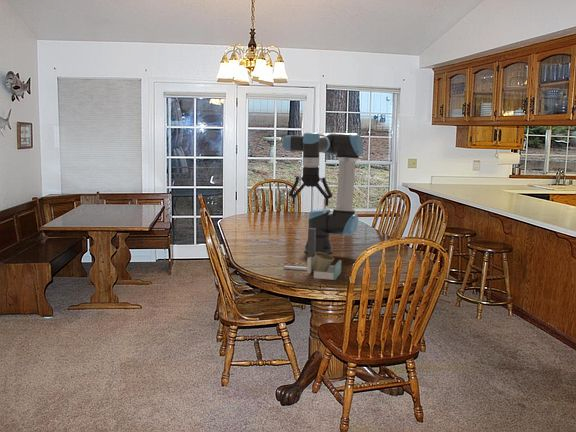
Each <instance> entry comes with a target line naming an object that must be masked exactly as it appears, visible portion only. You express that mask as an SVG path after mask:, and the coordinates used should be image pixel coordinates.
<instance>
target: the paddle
mask: <svg viewBox="0 0 576 432" xmlns="http://www.w3.org/2000/svg"><path fill="white" fill-rule="evenodd" d="M307 239H308V253H307V257H306V258H307V260H306V262H307V263H306V265H307V266H306V267H307V271H306V274H311V273H312V272H313V267H314V261H315V254H314V253H315V248H316V228H309V229H307Z"/></svg>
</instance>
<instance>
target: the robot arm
mask: <svg viewBox="0 0 576 432" xmlns="http://www.w3.org/2000/svg"><path fill="white" fill-rule="evenodd" d="M362 138H363V137H362V136H361V135H360V134H358V133H356V132H355V133H354V132H328V133H321V134H320V133H319V132H304V133H303V135H291V134H290V135H285V136H284V137H283V138H282V148H283V150H284V151H286V152H301V153H302V166H303V167H302V176H299V175H297V176H296V177H295V182H294V183H293V186H292V187H291V189H290V192H289V193H288V197H291V198H292V205H294V212H295V213H296V212H298V203H299V201H298V200H299V199H298V197H297V196H298V195H299V193H300V192H301V191H302V190H303V189H304V188H305V187H308V188H309V187H310V188H313V187H315V188H316V189H317V190H318V191H319V192H320V194H321V195H322V197H324V198H323V205H322V206H323V208H320V209H313V210H310V211H309V212H308V222H307V223H308V229H309V228H316V248H315V252H323V253H326V254H331V253H333V245H332V242H331V237H330V236H331V235H340V236H353V235H354V234H355V232H356V230H357V228H358V225H359V216H358V214H357V213H356V209H354V207H353V203H354V202H353V201H354V189H355V173H356V162H357V161H359V157H361V156H362V155H363V152H364V142H363V139H362ZM320 153H323V154H327V155H333V156H334V155H335V156H336V159H337V160H338V173H337V175H338V176H337V177H338V178H337V188H336V189H337V192H336V205H335V207H334V208H333V209H332V211H331V209H330V208H327V207H328V206H329V199H331V198H333V194H332V192H331V190H330V187H329V185H328V183H327V179H326V177H325V176H323V177H320V167H319V166H320ZM301 180H302V182H303V183H302V184H301V186H300V187H298V189H297V190H296V188H297V186H298V184H299V182H301ZM319 182H321V183H322V185H323V187H324V189H325V190H326V191H325V190H324V189H323V188H322V186H321V184H320V183H319ZM308 229H307V230H308ZM304 252H306V253H307V254H308V238H307V239H306V242H305V245H304Z"/></svg>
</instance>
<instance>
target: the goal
mask: <svg viewBox="0 0 576 432" xmlns="http://www.w3.org/2000/svg"><path fill="white" fill-rule="evenodd" d="M340 274H342V260H341V259H339V260H338V261H336V263H335V264H334V265H330V266H329V268H328V270H327V272H318V271H314V272H313V279H318V280H319V279H320V280H332V281H336V280H337V278H338V277H339V276H340Z"/></svg>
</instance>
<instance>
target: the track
mask: <svg viewBox="0 0 576 432" xmlns="http://www.w3.org/2000/svg"><path fill="white" fill-rule="evenodd" d="M283 269H284V270H291V271H292V270H294V271H306V272H307V266H294V265H284V266H283Z"/></svg>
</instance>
